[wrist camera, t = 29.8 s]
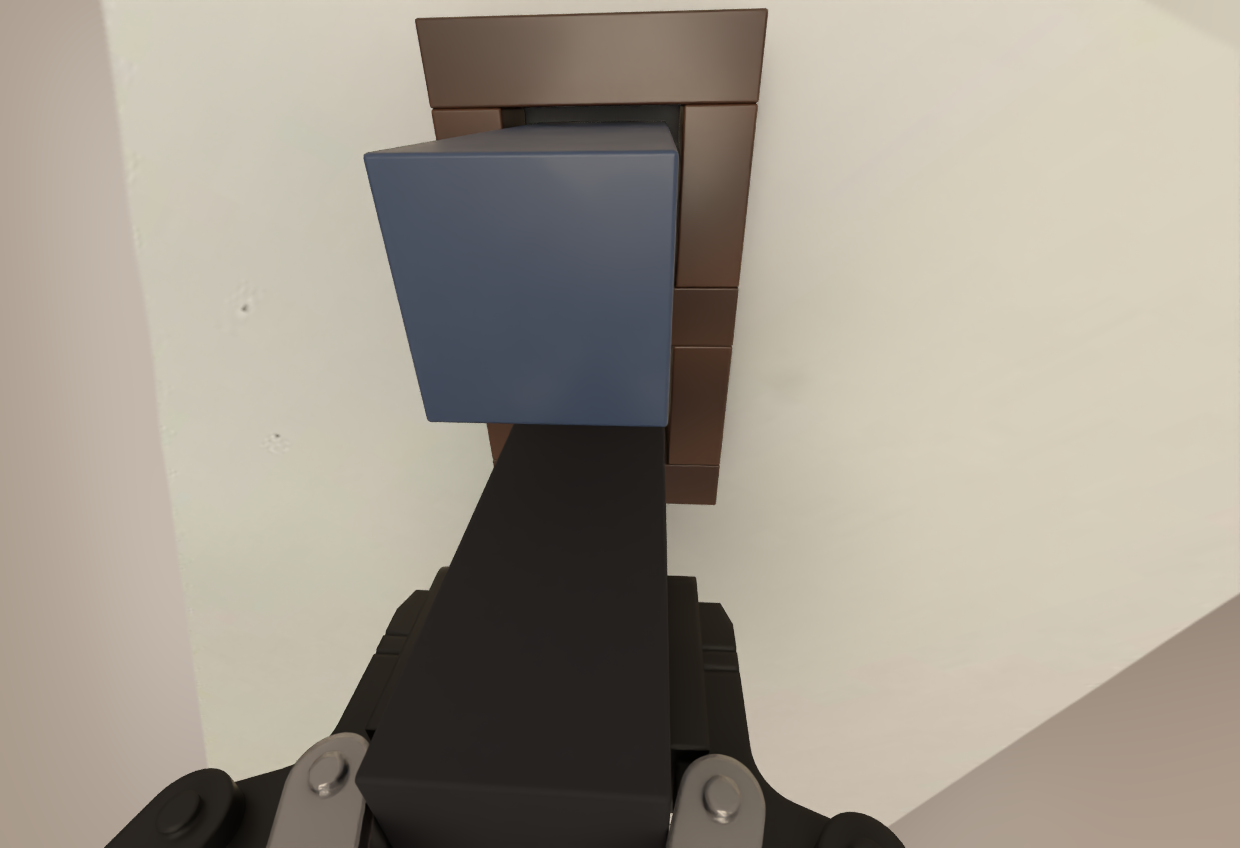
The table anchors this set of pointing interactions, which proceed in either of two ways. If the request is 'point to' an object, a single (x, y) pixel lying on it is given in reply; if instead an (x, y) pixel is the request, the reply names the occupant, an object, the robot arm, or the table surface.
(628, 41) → the mount block
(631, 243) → the blue rectangular block
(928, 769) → the table surface
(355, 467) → the table surface
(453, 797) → the charcoal block
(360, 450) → the table surface
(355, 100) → the table surface
